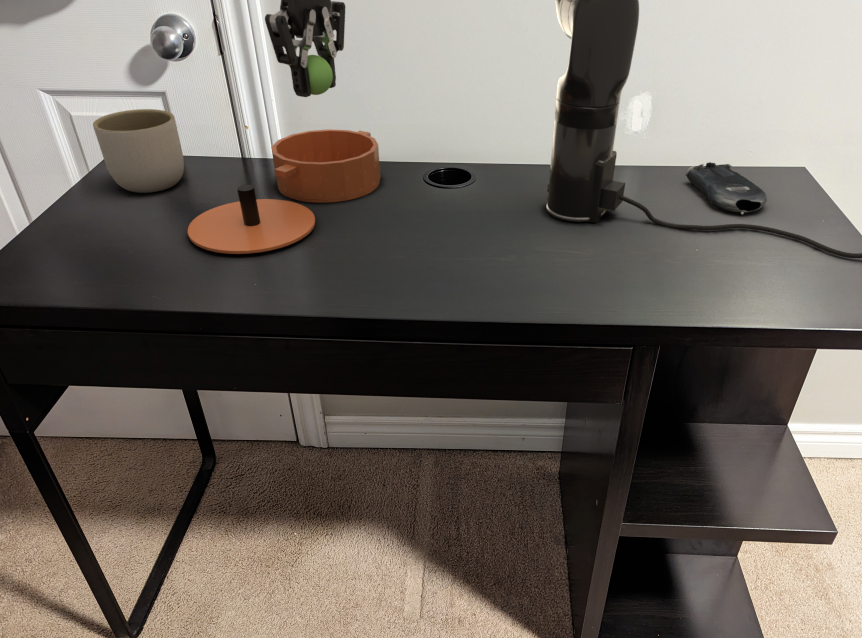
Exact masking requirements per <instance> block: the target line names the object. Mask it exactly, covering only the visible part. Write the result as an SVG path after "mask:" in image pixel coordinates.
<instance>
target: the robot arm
mask: <svg viewBox="0 0 862 638" xmlns="http://www.w3.org/2000/svg"><path fill="white" fill-rule="evenodd" d="M555 9H556V17H557V20H558V23H559V26H560V28H561V30H562V32H563V33H564V34H565V36H566V37H567V38H568V39H570V48H569V56H568V58H569V59H568V65H567V69H566V71H565V73H564V74H562V75H560V77H559V78H558V81H557V85H556V98H555V109H554V122H553V132H552V145H551V157H550V165H549V166H550V168H549V179H548V180H549V181H548V184H547V191H546V192H547V202H546V206H545V207H546V208H545V209H546V212H547V213H548V214H549V215H550V216H552V217H554V218H555V219H557V220H561V221H564V222H565V221H566V222H571V223H573V222H574V223H593V224H596V223H597V222H598V221H600V220H601V219H602V218H603V216H605V214H606V213H608V211H615V210H617V208H618V207H619V206H621V204H622V203H623V202H625V203H627V204H629V205H631V206H633V207H636V208H637V209H639V210H641V211H642V212H643V213H644V214H645V216H647V219H648V220H649V221H650V222H652V223H654V224H656V225H658V226H661V227H665V228H670V229H675V230H689V231H690V230H693V231H694V230H695V231H720V230H721V231H722V230H728V229H729V230H732V229H743V230H754V231H761V232H766V233H769V234H770V233H771V234H774V235H775V234H776V235H779V236H783V237H786V238H790V239H794V240H796V241H801V242H803V243H806V244H808V245H811V246H812V247H815V248H818V249H819V250H822V251H824V252H827V253H829V254H832V255H834V256H838V257H842V258H848V259H862V253H861V252H860V253H859V252H857V253H856V252H855V253H854V252H846V251H842V250H838V249H835V248H831V247H830V246H827V245H824V244H822V243H821V242H819V241H816V240H813V239H811V238H809V237H806V236H804V235H800V234H797V233H793V232H790V231H786V230H783V229H778V228H774V227H770V226H765V225H757V224H747V223H729V224H728V223H726V224H716V225H701V224H699V225H698V224H677V223H671V222H666V221H663V220H660V219H658V218H656V217H654V216H653V214H652V213H651V211H650V210H649V209H648V208H647V207H646V206H645V205H643V204H642V203H640V202H638V201H636V200H634V199H632V198H629V197H626V196H625V195H624V194H625V187H626V182H622V181H617V180H614V175H615V168H616V161H617V154H618V153H617V151H616V150H614V148H615V147H614V146H615V140H616V134H617V133H616V132H617V125H618V118H619V111H620V103H621V97H622V92H623V89H624V88H625V85H626V84H627V81H628V79H629V76H630V73H631V67H632V62H633V57H634V51H635V47H636V46H635V45H636V42H637V41H636V40H637V35H638V30H639V29H638V28H639V20H640V2H639V0H555ZM264 22H265V24H266V29H267V32H268V35H269V38H270V41H271V46H272V49H273V51H274V55H275V58H276V61H277V62H278V63H279V64H282V65H283V64H284V65H287V66H289V68H290V74H291V81H292V82H291V83H292V88H293V92H294V93H295V95H296V96H297V97H302V98H308V97H311V96H312V94H311V88H310V79H309V71H308V67H306V66H307V59H308V55H309V50H310V49H311V48H312V46H313V44H314V48H315V50H316V51H315V52H316V55H317V56H320V57H322V58H323V59H325V60H326V61H327V62H328V64H329V65H330V67H331V69H332V74H333V80H332V84H331V86H330V88H329V89H332V88H335V87H336V85H337V84H336V83H337V82H336V81H337V75H336V64H335V58H336V57H337V53H338V52H342V51H344V47H345V28H346V3H345V2H343V1H339V0H337V1H336V0H280V6H279V11H277V12H276V13H274V14H272V13H266V14H265V16H264ZM334 32H336V33H335V34H334ZM335 36H336V37H335ZM299 39H300V40H299ZM298 48H299V49H298ZM297 49H298V50H299V51H298V54H297Z"/></svg>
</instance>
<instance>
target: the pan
mask: <svg viewBox="0 0 862 638" xmlns="http://www.w3.org/2000/svg"><path fill="white" fill-rule="evenodd" d="M271 153H272V160H273V168H274V175H275V179H276V184H277V189H278V191H279V192H280V193H281V194H282V195H283V196H285V197H287V198H290V199H292V200H295V201H299V202H306V203H314V204H315V203H318V204H320V203H321V204H324V203H325V204H327V203H329V204H330V203H337V202H345V201H351V200H355V199H358V198H362V197H364V196H366V195H369V194H370V193H372V192H374V191H375V190H376V189H378V187H379V185H380V182H381V166H380V165H381V164H380V149H379V143H378V141H377V139H376V138H375V137H373V136H371V132H368V131H364V130H358V131H354V130H350V129H349V130H348V129H331V128H330V129H315V130H307V131H302V132H297V133H293V134H290V135H287V136H284V137H282V138H280V139H277V140H276V142H275V143H274V144H272V145H271Z"/></svg>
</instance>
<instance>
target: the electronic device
mask: <svg viewBox="0 0 862 638" xmlns="http://www.w3.org/2000/svg"><path fill="white" fill-rule="evenodd" d="M732 166H733V165H732V164H730V163H725V164H724V163H723V164H716V162H711V161H710V162H706V163H705V164H704V163H703V164H702V163H701V164H699V165H691V166H690V167H689V168H688V169H687V171H686V173H685V177H686V179H687V180H688V181H689V182H690V183H691V184H692V185H694V187H696V188H697V189H698V190H699V191H700V192H701V193H703V194H704V195H705V196H706V197H707V199H708V201H709V202H710V203H711V205H713V206H714V207H717V208H719V209H721V210H723V211H726V212H731V213H732V212H733V213H740V214H741V215H744V214H745V213H751V212H755V211H758V210H760V209H761V208H763V207H764V206H765V204H766V203H767V199H768V198H767V194H766V192H765V191H764V190H763V189H762V188H760V187H759V186H758V185H757V184H755V183H754V182H753V181H751V180H749V179H748V178H747V177H745V176H743V175H742V174H740V173H739V172H737V171H734V170H733V167H732Z"/></svg>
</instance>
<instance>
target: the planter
mask: <svg viewBox="0 0 862 638" xmlns="http://www.w3.org/2000/svg"><path fill="white" fill-rule="evenodd" d="M92 127H93V131H94V133H95V137H96V139H97V140H96V141H97V143H98V146H99V149H100V152H101V155H102V158H103V161H104V163H105V167H106V169H107V170H108V173H109V175H110V176H111V178H112V179H113V181H114V182H115V183H116V184H117V185H118V186H119V187H121V188H122V189H124V190H125V191H129V192H132V193H140V194H148V193H156V192H162V191H165V190H167V189H170V188H172V187H174V186H175V185H177V184H178V183H179V182H180V180H181V179H182V177H183V175H184V170H185V161H184V154H183V149H182V143H181V139H180V135H179V131H178V127H177V121H176V118H175V115H174V114H173V113H171V112H170V111H167V110H163V109H153V108H141V109H139V108H137V109H128V110H121V111H116V112H111V113H108V114H106V115H102V116H100V117H98V118H97V119H95V120H94V121H93V123H92Z"/></svg>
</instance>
